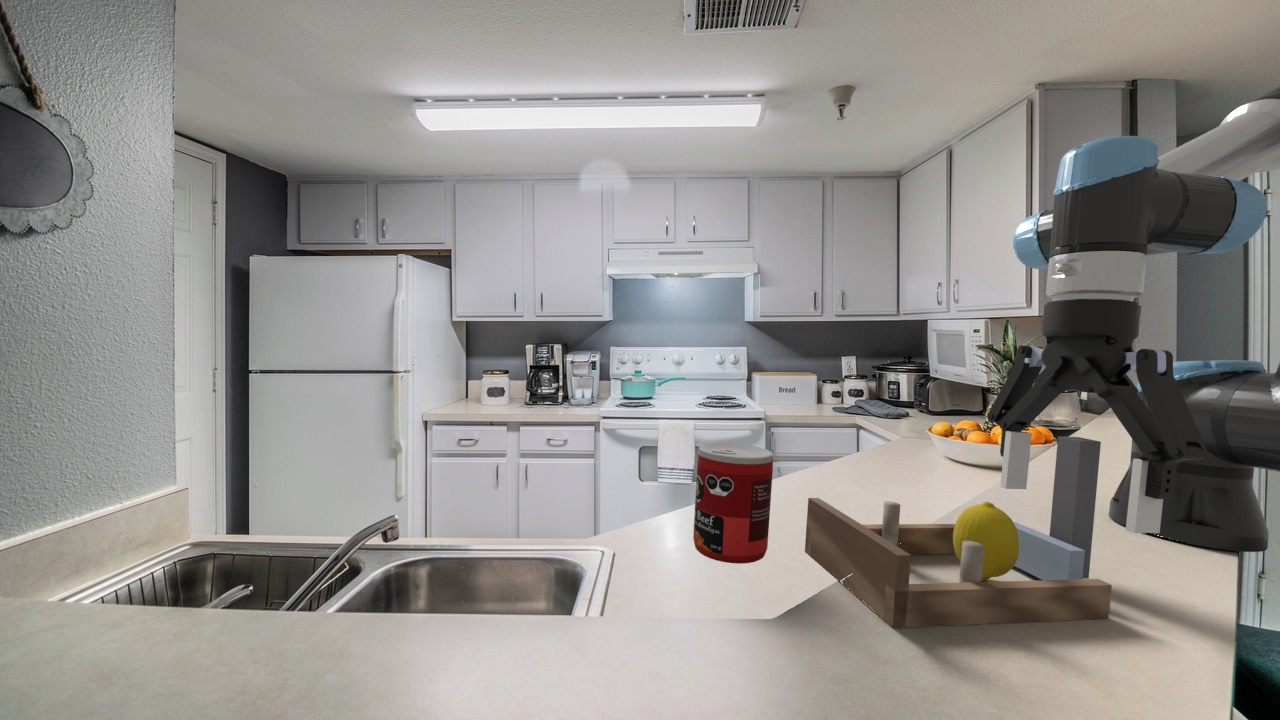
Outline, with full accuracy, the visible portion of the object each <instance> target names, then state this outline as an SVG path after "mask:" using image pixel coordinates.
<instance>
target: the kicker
mask: <svg viewBox="0 0 1280 720" xmlns="http://www.w3.org/2000/svg"><path fill="white" fill-rule="evenodd" d="M1101 443H1102V442H1101V441H1099V440H1095V439H1091V438H1085V437H1079V436H1057V444H1056V445H1057V446H1056V456H1055V468H1054V479H1053V489H1052V491H1053V492H1052V501H1051V504H1052V505H1051V514H1050V526H1049V535H1048V534H1045V533H1044V532H1043V533H1042V532H1041V531H1038V530H1035V529H1033V528H1030V527H1028V526H1026V525H1024V524H1021V523H1018V522H1017V521H1016V522H1014V521H1013V522H1014V524H1015V526H1016V529H1017V533H1018V539H1019V554H1018V558H1017V561H1016V563H1015V565H1014V566H1013V567H1016V568H1018V569H1020V570H1022V571H1023V572H1027V573H1028V574H1030V575H1032V576H1034V577H1036V578H1038V579H1039V580H1073V579H1090V578H1089V577H1090V570H1091V569H1090V567H1091V556H1092V545H1093V532H1094V525H1095V524H1094V523H1095V511H1096V500H1097V490H1098V489H1097V488H1098V480H1099V479H1098V477H1099V469H1100V468H1099V466H1100V455H1101Z"/></svg>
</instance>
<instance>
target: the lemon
mask: <svg viewBox="0 0 1280 720" xmlns="http://www.w3.org/2000/svg"><path fill="white" fill-rule="evenodd" d="M954 524H955V527H954V532H953V545H954V550H955V553H956V554H955V555H956V558H957V559H958V561H959V562H960V563H961V554H962V542H963V541H973V542H977V543H980V544H982V545H983V546H984V552H983V565H982V577H981V582H987V581H988V580H989V579H991V578H997V577H1001V576H1004V575H1006V574H1007V573H1009V572H1011V570H1012V569H1013V568H1014V567H1015V566H1014V565H1015V563H1016V561H1017V558H1018V554H1019V539H1018V533H1017V529H1016V526H1015V524H1014V521H1013V519H1012V518H1011V517H1010V516H1009V515H1008V514H1007V513H1006V512H1005V511H1004V510H1001V509H1000V508H998V507H997V506H995V505H994V504H993V503H992V502H990V501H983V502H982V503H979V504H973V505H972V506H968V507H966V508H965V509H964V510H963V511H962V512H961V513H960V514H959V515H958V517H957V519H956V522H955V523H954Z"/></svg>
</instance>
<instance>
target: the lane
mask: <svg viewBox="0 0 1280 720" xmlns="http://www.w3.org/2000/svg"><path fill="white" fill-rule="evenodd" d="M882 511H883V513H882V524H880V523H879V524H862V523H860V522H858V521H856V520H855V519H853V518H852V517H850V516H848V515H847V514H845V513H843V512H842V511H841V510H838V509H837V508H836V507H834V506H833V505H831V504H829V503H827V502H826V501H824V500H823V499H821V498H820V497H808V498H807V511H806V512H807V513H806V528H805V545H804V553H805V554H806V555H808V556H809V557H810V558H811V559H812V560H814V562H816V563H817V564H818V565H819V566H820V567H822V568H823V570H825V571H826V572H828V574H829V575H831V576H832V577H833V578H834V579H835V580H837V581H838V582H839V581H840V580H842V579H843V578H845V577H847V576H848V575H850V574H852V573H853V574H852V575H851V576H849V577H847V578H845V580H843V581H842V582H843V585H842V586H843V587H845V586H846V587H847V588H849V589H850V590H851V591H852V592H853V593H854V594H855V595H856V596H858V597H859V598H860V599H861V600H863V601H864V602H865V603H866V604H867V605H868V606H870V607H871V608H872V609H873V610H874V611H875V612H876V613H877V614H878V615H879V616H881V617H880V619H882V618H883V619H882V621H884V622H885V621H886V622H887V623H888V624H887V623H886V622H885V623H886V624H887V625H888V626H890V628H894V629H895V627H896V628H913V627H914V628H915V627H916V628H917V627H939V626H940V627H942V626H964V625H967V626H968V625H983V624H984V625H987V624H1009V623H1010V622H1012V623H1030V622H1031V623H1033V622H1034V623H1035V622H1036V623H1037V622H1057V621H1058V622H1059V621H1077V620H1079V621H1081V620H1084V621H1085V620H1100V619H1101V620H1103V619H1105V620H1106V619H1109V617H1110V609H1111V608H1110V607H1111V597H1112V587H1113V586H1112V584H1111V583H1108V582H1105V581H1103V580H1101V579H1099V578H1083V579H1073V580H1042V579H1039V580H1009V581H1005V580H1004V581H981V577H982V565H983V552H984V546H983V545H982V544H980V543H977V542H973V541H963V542H962V554H961V562H960V570H959V582H939V583H938V582H937V583H936V582H934V583H910V576H911V575H910V573H911V561H912V556H914V555H915V556H917V555H919V556H920V555H956V553H955V550H954V545H953V532H954V527H955V524H956V523H931V524H930V523H916V524H915V523H907V524H906V523H905V524H904V523H902V524H900V513H901V504H900V503H899V502H895V501H888V500H887V501H884V502H883V510H882ZM900 543H901V544H900ZM846 587H845V588H846ZM847 588H846V589H847ZM852 592H851V593H852ZM853 593H852V594H853ZM854 594H853V595H854ZM855 595H854V596H855ZM856 596H855V597H856ZM859 598H858V599H859ZM860 599H859V600H860ZM861 600H860V601H861ZM867 605H866V606H867ZM868 606H867V607H868ZM874 611H873V612H874ZM875 612H874V613H875ZM876 613H875V614H876ZM877 614H876V615H877ZM878 615H877V616H878ZM879 616H878V617H879ZM1008 622H1009V623H1008Z"/></svg>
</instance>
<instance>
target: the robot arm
mask: <svg viewBox="0 0 1280 720" xmlns="http://www.w3.org/2000/svg"><path fill="white" fill-rule="evenodd" d="M1158 149H1159V147H1158V145H1157V144H1156V143H1155V142H1154V141H1153V139H1152V138H1149V137H1145V136H1141V135H1140V136H1139V135H1122V136H1112V137H1106V138H1101V139H1096V140H1092V141H1089V142H1086V143H1083V144H1081V145H1078V146H1075V147H1074V148H1072V149H1070V150H1068V151H1067V152H1066V153H1065V154H1064V155H1063V156H1062V158H1061V160H1060V163H1059V166H1058V170H1057V171H1058V172H1057V177H1056V183H1055V187H1054V190H1053V199H1054V200H1053V209H1044V210H1042V211H1040V212H1039V213H1035V214H1033V215H1030V216H1028V217H1025V218H1024V219H1023V220H1022V221H1021V222H1020V223H1019V224H1018V225H1017V226H1016V229H1015V231H1014V234H1013V237H1012V245H1013V249H1014V253H1015V255H1016V258H1017V259H1018V261H1019V262H1020V263H1022V264H1023V265H1024V266H1025V267H1028V268H1031V269H1035V270H1042V269H1048V270H1047V278H1046V280H1047V281H1046V288H1045V289H1046V290H1045V295H1046V296H1047V297H1049V298H1051V299H1052V300H1050V301H1047V302H1046V304H1044V305H1043V314H1042V315H1043V316H1042V322H1041V323H1042V324H1041V334H1042V336H1044V337H1045V338H1046V344H1045V346H1044V347H1043V346H1034V345H1025V344H1024V345H1020V346H1018V348H1017V350H1016V355H1015V361H1014V365H1013V366H1012V368H1011V370H1010V372H1009V374H1008V376H1007V377H1006V380H1005V382H1004V384H1003V385H1002V387H1001V388H1000V390H999V393H998V394H997V396H996V397H995V400H994V402H993V404H992V405H991V408H990V409H989V410H988V413H987V414H986V417H987V420H988V421H989V422H991V423H992V422H994V423H995V424H997V425H998V426H999V427H1000V429H1001V438H1000V439H1001V440H1000V448H999V449H1000V450H999V454H1000V456H1001V457H1002V468H1001V475H1000V488H1003V489H1005V490H1027V487H1028V476H1029V475H1028V474H1029V465H1030V457H1031V456H1030V455H1031V446H1032V445H1031V444H1032V435H1033V433H1032V432H1028V431H1030V428H1029V425H1030V424H1031V423H1032V422H1033V421H1034V420H1036V418H1038V417H1039V416H1040V414H1041V413H1042V412H1044V410H1046V408H1048V406H1049V405H1050V404H1052V403H1053V401H1055V399H1056V398H1058V397H1059V396H1060V395H1061V394H1062V393H1066V392H1067V391H1077V392H1080V393H1093V394H1096V395H1097V396H1098V397H1100V399H1104V401H1105V402H1106V404H1107V405H1108V406H1109V408H1110V409H1111V411H1112V412H1113V413H1114V415H1115V416H1116V418H1117V419H1118V421H1119V422H1120V423H1121V425H1122V426H1123V428H1124V429H1125V431H1126V432H1127V434H1128V435H1129V437H1130V438H1131V450H1130V460H1129V461H1130V462H1129V466H1128V468H1127V470H1126V472H1125V474H1124V476H1123V478H1122V479H1121V481H1120V482H1119V484H1118V486H1117V488H1116V490H1115V493H1114V495H1113V496H1112V497H1111V499H1110V500H1109V501H1110V502H1109V509H1108V510H1109V511H1108V517H1109V518H1110V520H1112V521H1114V522H1116V523H1118V524H1120V525H1122V526H1124V525H1125V526H1124V527H1125V531H1128V532H1130V533H1133V534H1147V533H1151V534H1155V535H1159V536H1163V537H1165V538H1164V539H1166V538H1170V539H1173V540H1172V541H1174V540H1178V541H1181V542H1180V543H1183V542H1185V543H1184V544H1188V545H1194V546H1199V547H1205V548H1209V549H1217V550H1223V551H1229V552H1230V551H1231V552H1243V553H1252V552H1253V553H1259V552H1260V553H1261V552H1264V551H1266V550H1268V547H1269V536H1270V532H1269V528H1268V526H1267V524H1266V520H1265V518H1264V515H1263V512H1262V509H1261V506H1260V503H1259V500H1258V497H1257V494H1256V491H1255V489H1254V485H1253V483H1254V471H1255V468H1257V469H1263V470H1266V471H1267V470H1268V471H1273V472H1276V473H1277V472H1278V473H1280V362H1279V364H1278V366H1277V369H1276V371H1275V372H1267V369H1265V366H1264V364H1263V363H1262V362H1260V361H1257V360H1242V359H1241V360H1240V359H1238V360H1237V359H1234V360H1232V359H1231V360H1229V359H1224V360H1223V359H1219V360H1217V359H1215V360H1213V359H1212V360H1186V361H1174V356H1173V353H1172V352H1171V351H1170V350H1166V349H1165V350H1164V349H1151V348H1141V349H1139V350H1138V351H1134V349H1133V348H1134V347H1133V342H1134V340H1136V339H1137V338H1138V337H1139V332H1140V323H1141V322H1140V321H1141V312H1142V306H1141V305H1140V303H1139V302H1137V301H1134V300H1135V298H1139V297H1141V296H1143V294H1144V291H1145V290H1144V288H1145V280H1146V267H1147V258H1148V257H1147V256H1153V255H1161V254H1168V253H1184V254H1188V255H1192V256H1193V255H1194V256H1196V255H1200V254H1201V255H1202V254H1203V255H1204V254H1205V255H1215V254H1222V253H1226V252H1229V251H1232V250H1234V249H1236V248H1239V247H1240V246H1242V245H1243V244H1246V243H1247V242H1248V241H1249V240H1250V239H1252V238H1253V237H1254V236H1255V234H1257V233H1258V232H1259V230H1260V229H1261V227H1262V225H1263V224H1264V221H1265V219H1266V215H1267V212H1268V211H1267V201H1266V198H1265V196H1264V194H1263V193H1262V191H1261V190H1260V189H1258V188H1257V187H1256V186H1254V185H1252V184H1250V183H1247V182H1244V181H1242V180H1244V179H1246V178H1248V177H1250V176H1252V175H1254V174H1257V173H1267V172H1272V171H1277V170H1279V169H1280V85H1278V86H1276V87H1274V88H1273V89H1271V90H1269V91H1267V92H1265V93H1264V94H1261V95H1260V96H1257V97H1256V98H1254V99H1253V100H1251V101H1249V102H1246V103H1244V104H1242V105H1240V106H1239V107H1237V108H1236V109H1234V110H1233V111H1232V112H1230V113H1229V114H1228V115H1227V116H1225V118H1224V119H1223V120H1222V121H1221V123H1220V124H1219V125H1218V126H1217V127H1215V128H1213V129H1211V130H1209V131H1207V132H1205V133H1202V134H1201V135H1199V136H1197V137H1195V138H1193V139H1191V140H1189V141H1187V142H1185V143H1184V144H1182V145H1179V146H1178V147H1176V148H1173V149H1172V150H1170V151H1168V152H1166V153H1164V154H1162V155H1160V156H1158V151H1159V150H1158ZM1043 365H1044V367H1045V368H1044V369H1043V370H1042V368H1043ZM1041 370H1042V371H1041ZM1130 370H1131V371H1134V372H1135V374H1136V377H1137V386H1136V385H1135V383H1134V382H1133V381H1132V379H1131V378H1130V377H1129V376H1128V372H1129V371H1130ZM1151 534H1150V535H1151ZM1170 539H1169V540H1170ZM1178 541H1177V542H1178ZM1235 550H1236V551H1235ZM1237 550H1238V551H1237Z"/></svg>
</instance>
